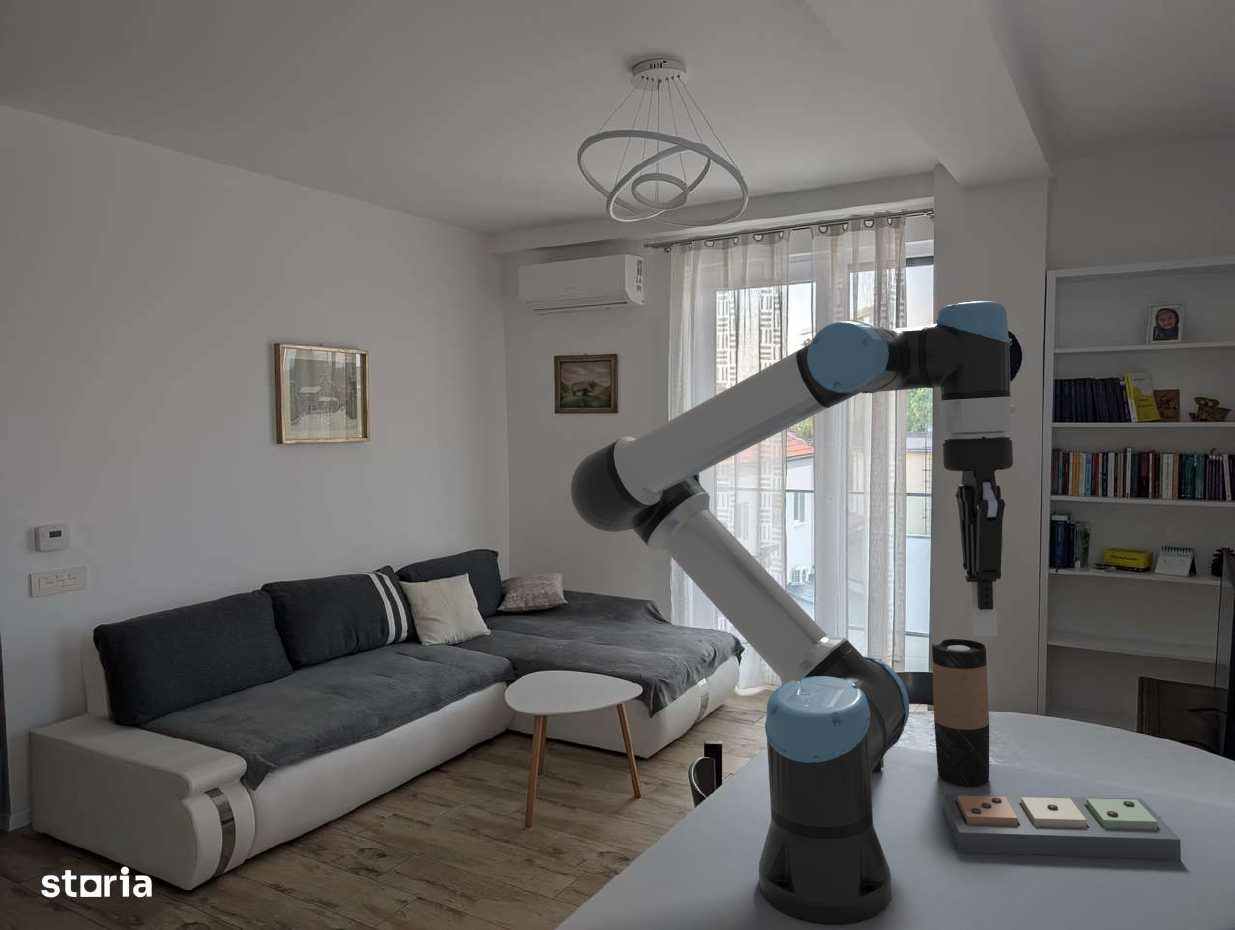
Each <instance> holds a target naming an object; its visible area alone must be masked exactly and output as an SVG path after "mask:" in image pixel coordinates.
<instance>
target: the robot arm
mask: <svg viewBox="0 0 1235 930" xmlns="http://www.w3.org/2000/svg"><path fill="white" fill-rule="evenodd" d="M937 317H938V318H937V319H936V323H933V324H930V325H924V326H914V327H912V326H911V327H901V328H900V327H899V328H887V327H886V328H885V327H882V326H881V327H880V326H876V325H872V324H869V323H866V322H864V321H859V320H853V319H852V320H847V321H844V320H843V321H836V322H832V323H829V324H827V325H825V326H824V327H822V328H821V329H820V330H819V331H818V332H817V333H816V334H815V335H814V337H812V338H813V339H812V340H811V342H810V343H809V344H807V345H805V346H804V347H802V348H800V349H798V350H796V351H794V352H792V353H791V354H789V355H787V356H786V357H783V358H782V359H780V360H778V361H776V362H774V363H772V364H770V365H769V366H766V367H765V368H763V369H761V370H760V371H758V372H756V373H754V374H753V375H750V376H749V377H747V378H745V379H743V380H741V381H740V382H737V383H736V384H733V385H732V386H730V387H729V388H727V389H724V390H723V391H722V392H719V393H718V394H716V395H714V396H712V397H710V398H708V399H706V400H705V401H703V402H701V403H700V404H698V405H696V406H694V407H692V408H691V409H688V410H687V411H684V412H683V413H681V414H680V415H677V416H675V417H674V418H671V419H670V420H668V421H667V422H665V423H663V424H661V425H659V426H657V427H655V428H654V429H652V430H650V431H648V432H647V433H644V434H642V435H641V436H639V437H638V438H635V437H632V436H625V437H621V438H619V439H618V440H616V441H614V442H612V443H610V444H608V445H606V446H604V447H602V448H600V449H598V450H596V451H595V452H594V451H593V452H592V453H591V454H588V455H587V456H586V457H585V458H584V459H582V461H581V462H580V463H579V464H578V466H577V467H576V468H575V470H574V473H573V475H572V479H571V483H570V496H571V501H572V504H573V506H574V508H575V509H574V510H575V511H576V513H577V514H578V515H579V517H580V518H581V519H582V520H583V521H584V522H585V523H587V524H588V525H590V526H591V527H592V528H595V529H597V530H599V531H603V532H604V531H605V532H609V533H615V532H616V533H617V532H618V533H619V532H624V531H629V530H633V531H634V532H635V534H637V536H638V537H639V538H640V539H641V540H642V542H643V543H645V545H646V546H647V547H648V548H649V549H651V550H652V551H653V550H654V551H655V550H658V551H666V553H667V554H668V555H669V556H670V557H671V558H672V559H673V561H675V563H676V564H677V565H678V566H679V567H680V568H681V569H682V570H683V572H685V574H686V575H687V577H689V578H690V579H691V580H692V581H693V582H694V584H695V585H696V586H697V587H698V588H699V589H700V590H701V592H702V593H703V594H704V595H705V596H706V597H707V598H708V599H709V601H711V603H712V604H713V605H714V606H715V607H716V608H717V609H718V610H719V612H720V613H721V614H722V615H723V616H724V617H725V618H726V619H727V621H728V622H729V623H730V624H731V625H732V626H733V627H734V628H735V629H736V631H737V632H738V633H739V634H740V635H741V637H743V638H744V639H745V640H746V642H747V643H748V644H749V645H750V646H751V647H752V648H753V649H754V651H755V652H756V653H757V654H758V655H759V656H760V657H761V659H762V660H763V661H764V662H765V663H766V664H767V665H768V666H769V668H770V669H771V670H772V671H773V672H774V673H775V674H776V675H777V676H778V677H779V679H780V682H781V685H780V686H779V687H777V688H776V689H775V690H774V691H773V692H772V693H771V695H770V696H769V698H768V701H767V704H766V717H765V718H766V719H765V722H764V729H765V731H764V732H765V735H766V747H767V748H766V749H767V750H766V751H767V763H768V764H767V767H768V779H769V780H768V781H769V785H768V786H769V797H770V798H769V799H770V823H769V827H768V830H767V834H766V836H765V837H766V838H765V840H764V841H765V842H764V845H763V848H762V852H761V855H760V858H759V862H758V882H759V884H760V885H759V888H761V889H760V892H761V891H762V892H761V893H763V894H762V896H763V895H764V896H765V897H764V896H763V897H764V898H765V900H767V901H768V903H770V904H771V905H772V906H773V907H774V908H776V907H777V908H776V909H778V910H780V911H781V912H784V913H785V914H787V915H790V916H792V917H795V918H799V919H801V920H805V921H810V922H815V923H822V924H823V923H824V924H847V923H854V922H859V921H862V920H866V919H868V918H871V917H873V916H876V915H877V914H879V913H881V912H882V911H883V910H884V909H885V908H886V907H887V906H888V904H889V903H890V902H891V899H892V895H893V893H892V892H893V891H892V874H891V870H890V866H889V865H888V861H887V859H886V856H885V853H884V851H883V848H882V844H881V843H880V839H879V837H878V835H877V832H876V829H875V826H874V818H873V817H874V816H873V797H872V796H873V795H872V793H873V792H872V789H873V788H872V773H873V772H872V770H873V769H874V767H875V766H876V765H877V764H878V763H879V761H880V760H881V759H882V757H883V758H884V756H885V754H887V752H888V751H889V750H890V749H891V748H893V746H894V745H896V744H897V743H898V742H899V740H900V739H901V737H902V735H903V733H904V730H905V727H906V725H907V722H908V719H909V714H910V700H909V695H908V691H907V689H906V687H905V684H904V683H903V680H902V679H901V678H900V676H899V675H898V673H897V672H896V671H895V670H894V669H893V668H892V667H891V666H890V665H888V663H887V664H886V663H885V662H884V661H882V660H880V659H878V658H875V657H869V656H865V655H862V654H861V652H860V651H859V650H858V649H857V648H856V647H855V646H854V645H853V644H852V643H851V642H850V641H849V640H848V639H847V638H845V637H834V636H833V637H832V636H829V635H828V634H827V633H826V632H825V631H824V630H823V629H822V628H821V627H820V626H819V624H817V623H816V622H815V621H814V619H813V618H812V617H811V616H809V614H808V613H807V612H806V611H805V610H804V609H803V608H802V606H800V605H799V603H797V601H796V600H794V598H793V597H792V596H791V595H790V594H789V593H788V591H786V589H784V588H783V586H781V585H780V583H779V582H777V580H776V579H775V578H774V577H773V576H772V575H771V573H769V572H768V571H767V569H766V568H764V567H763V565H762V564H761V563H760V562H759V561H758V560H757V559H756V558H755V557H754V555H752V554H751V553H750V552H749V550H747V549H746V548H745V546H744V545H743V544H742V543H741V542H740V541H739V540H738V538H737V537H735V536H734V535H733V533H731V531H730V530H728V529H727V527H726V526H725V525H724V524H723V522H721V520H719V519H718V518H717V517H716V516H715V515H714V514H713V513H712V511H711V510H710V499H711V498H710V494H709V492H707V491H706V490H705V489H704V488H703V486H702V485H701V484H702V483H701V482H700V477H701V476H700V474H701V472H703V471H706V470H708V469H710V468H712V467H713V466H716V465H718V464H719V463H722V462H724V461H725V460H727V459H729V458H732V457H734V456H735V455H737V454H739V453H742V452H744V451H745V450H747V449H749V448H751V447H753V446H755V445H757V444H760V443H761V442H763V441H765V440H767V439H769V438H771V437H774V436H775V435H777V434H779V433H781V432H783V431H786V430H788V429H789V428H791V427H793V426H795V425H797V424H799V423H801V422H803V421H805V420H807V419H809V418H811V417H813V416H815V415H816V414H819V413H822V412H823V411H825V410H826V409H828V408H829V409H830V408H831V407H833V406H836V405H838V404H840V403H843V402H844V401H846V400H848V399H851V398H852V397H854V396H857V395H859V394H875V393H878V392H891V391H892V392H893V391H903V390H904V391H906V390H914V389H916V390H919V389H934V388H940V392H941V396H940V397H941V398H940V399H941V401H940V413H941V414H940V415H941V433H943V435H947V439H946V438H945V439H944V441H943V442H942V458H943V468H944V469H945V470H947V471H950V472H952V471H953V472H962V473H961V475H962V477H961V484H958V485H957V491H956V494H955V498H956V501H957V505H958V506H957V507H958V515H959V516H958V517H959V528H960V540H961V551H962V567H963V569H964V570H965V571H966V576H965V582H967V583H968V606H969V607H968V608H969V610H968V611H969V634H971V636H973V637H997V636H998V618H997V616H998V615H997V614H998V613H997V590H996V589H997V588H996V587H997V585H996V584H997V583H996V582H997V580H1000V579H1001V578H1002V577H1001V576H1002V552H1003V551H1002V549H1003V545H1002V544H1003V519H1004V515H1005V507H1006V503H1005V500H1004V499H1003V498H1002V497H1001V496H1002V495H1001V487H1000V486H1001V485H997V481H996V480H997V479H996V475H995V473H996V471H1003V470H1008V469H1010V468H1012V467H1013V465H1014V457H1013V455H1014V454H1013V453H1014V451H1013V449H1014V448H1013V439H1011V437H1010V436H1007V434H1006V433H1009V432H1010V431H1011V430H1012V416H1011V414H1015V413H1016V409H1017V408H1016V406H1015V405H1012V404H1011V397H1012V396H1011V359H1010V358H1011V356H1010V355H1011V354H1010V353H1011V352H1010V347H1011V345H1010V344H1011V338H1009V328H1008V327H1009V324H1008V314H1007V308H1006V306H1004V305H1003V304H1002V303H1000V302H997V301H993V300H992V301H990V300H988V301H987V300H984V301H983V300H981V301H980V300H979V301H969V302H960V303H956V304H955V303H954V304H948V305H945V306H943V307H941V308H940V309H939V310H938V313H937Z"/></svg>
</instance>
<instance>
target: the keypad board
mask: <svg viewBox="0 0 1235 930" xmlns="http://www.w3.org/2000/svg"><path fill="white" fill-rule="evenodd" d="M957 796H994V797H1005V798H1006V799H1007V801H1008V803H1009V804H1010V806H1011V808H1012V809H1013V811H1014V813H1015V814H1016V816H1017V818H1018V826H1007V825H975V824H965V822H964V820H963V818H962V816H961V813H960V811H959V809H958V799H957ZM941 797H942V812H943V815H944V817H945V820H946V822H947V824H948V826H949V829H950V832H951V835H952V837H953V838H954V842H955V844H956V847H957V848H958V851H959V852H960V853H962V852H963V853H982V854H983V853H987V854H1009V855H1010V854H1011V855H1034V854H1039V855H1038V856H1065V857H1066V856H1067V857H1069V856H1070V857H1089V858H1090V857H1091V858H1092V857H1095V858H1117V859H1120V858H1121V859H1122V858H1123V859H1142V860H1143V859H1144V860H1145V859H1150V860H1171V861H1173V860H1174V861H1175V860H1176V861H1181V860H1182V852H1181V846H1182V844H1181V839H1180V837H1178V836H1177V835H1176V833H1175V832H1174V830H1172V829H1171V828H1170V827H1169V825H1167V824H1166V823H1165V822H1164V821H1163V819H1162V818H1161V817H1160V816H1159V815H1157V813H1156V812H1155V811H1154V810H1153V809H1152V807H1150V806H1149V805H1148V803H1146V801H1145V800H1144V799H1143V798H1141V797H1140V798H1138V797H1137V798H1135V797H1134V798H1132V797H1131V798H1130V797H1095V796H1094V797H1090V796H1060V795H1059V796H1055V795H1054V796H1053V795H1051V796H1050V795H1021V794H1020V795H1016V794H1014V795H1013V794H1011V795H1009V794H974V793H973V794H971V793H970V794H969V793H942V795H941ZM1021 797H1034V798H1070V799H1071V800H1072V802H1073V803H1074V804H1075V806H1076V807H1077V808H1078V809H1079V811H1080V812H1081V813H1082V815H1083V816H1084V817H1085V819H1086V822H1087V828H1071V827H1039V826H1032V824H1031V822H1030V821H1029V819H1028V817H1027V816H1026V814H1025V813H1024V811H1023V809H1022V808H1021ZM1087 798H1090V799H1130V800H1138V801H1139V803H1140V804H1141V805H1142V806H1143V807H1144V808H1145V809H1146V810H1147V811H1148V812H1149V813H1150V814H1151V815H1152V816H1153V818H1154V819H1155V820H1156V821H1157V830H1134V829H1103V828H1102V827H1101V826H1100V825H1099V824H1098V822H1097V821H1096V820H1095V818H1094V817H1093V816H1092V815H1091V813H1090V812H1089V811H1088V809H1087ZM1178 859H1179V860H1178Z"/></svg>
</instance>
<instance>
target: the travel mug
mask: <svg viewBox="0 0 1235 930" xmlns="http://www.w3.org/2000/svg"><path fill="white" fill-rule="evenodd" d="M931 653H932V655H931V656H932V691H933V692H932V693H933V719H934V720H933V722H934V723H933V724H934V736H935V737H934V738H935V739H934V740H935V750H936V751H935V753H936V764H937V765H936V767H937V775H938V777H939V779H940V780H942V781H943V782H944V783H947V784H949V785H953V786H956V787H961V788H962V787H964V788H974V787H975V788H976V787H981V786H985V785H986V784H988V782H989V780H990V712H989V710H990V709H989V690H988V688H989V687H988V684H989V683H988V668H987V665H988V664H987V648H986V645H985V644H983V643H982V642H979V641H977V640H970V639H963V638H962V639H959V638H951V639H950V638H948V639H943V640H942V641H941V642H940V643H939V644H934V643H931Z"/></svg>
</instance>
